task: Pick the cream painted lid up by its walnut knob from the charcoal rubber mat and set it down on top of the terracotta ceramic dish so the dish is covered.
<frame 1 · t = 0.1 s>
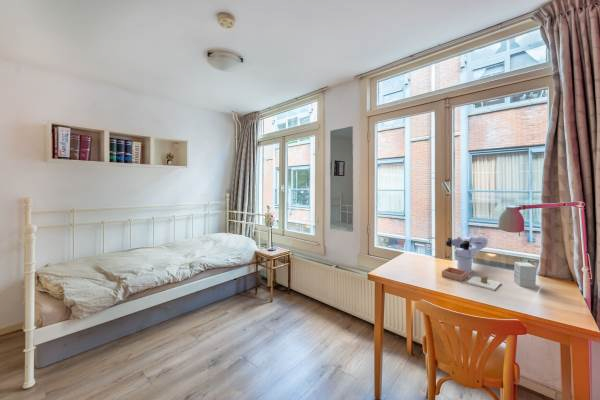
hand: (453, 244, 151), 22 cm above the table, tool horizontal, fingers open, 7 cm apart
mat: (483, 284, 145), on the table
dish: (454, 277, 156), on the table
lid: (483, 283, 145), point 1 cm above the table, touching mat
supplement box: (523, 285, 143), on the table
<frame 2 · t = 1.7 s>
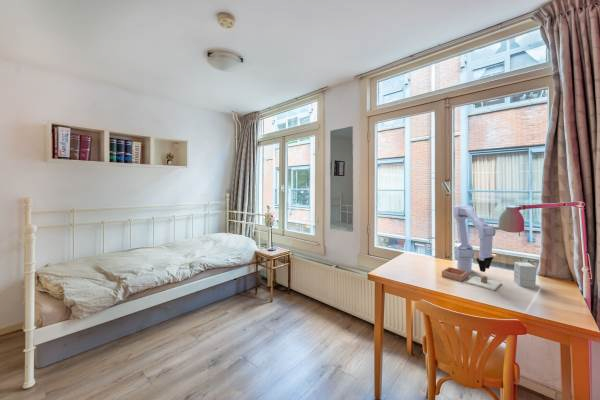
hand: (484, 269, 144), 9 cm above the table, tool pointing down, fingers open, 7 cm apart
nothing on the table moved.
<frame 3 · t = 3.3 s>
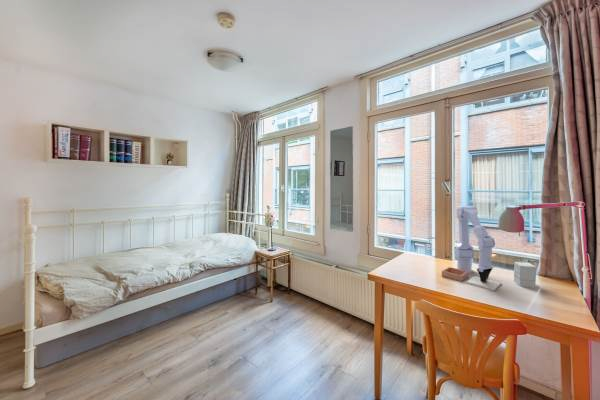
hand: (484, 280, 145), 2 cm above the table, tool pointing down, fingers closed on lid, 3 cm apart
lid: (483, 283, 145), point 1 cm above the table, touching gripper, mat
everything else where it was.
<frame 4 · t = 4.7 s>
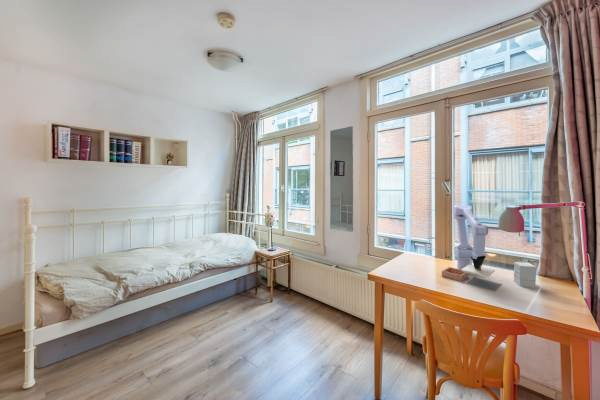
hand: (477, 268, 147), 9 cm above the table, tool pointing down, fingers closed on lid, 3 cm apart
lid: (477, 271, 147), point 7 cm above the table, touching gripper
everything else where it was.
when the fingers open (7 cm above the table, at t = 6.4 s): lid stays where it is, resting on dish.
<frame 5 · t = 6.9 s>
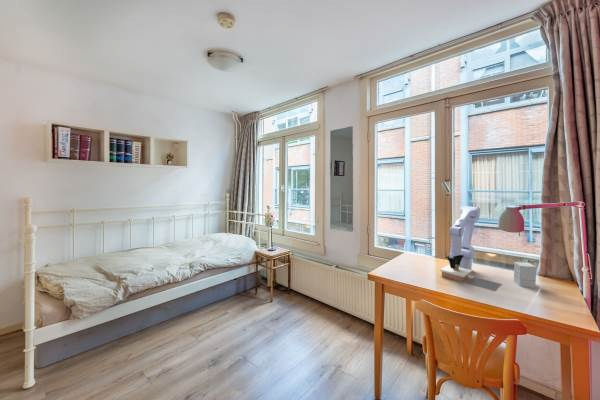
hand: (455, 266, 155), 7 cm above the table, tool pointing down, fingers open, 7 cm apart
lid: (455, 271, 155), point 4 cm above the table, touching dish
everything else where it was.
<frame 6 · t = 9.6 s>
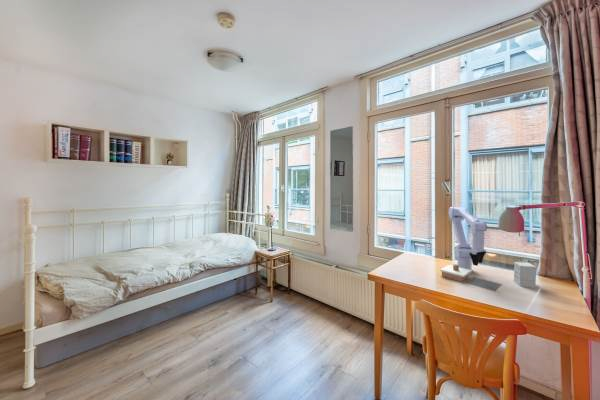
hand: (477, 263, 150), 10 cm above the table, tool pointing down, fingers open, 7 cm apart
nothing on the table moved.
at the end: lid 0.5 cm off-centre on the dish, point 4.0 cm above the dish's base; lid tilted 0°; the gripper is holding nothing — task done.
